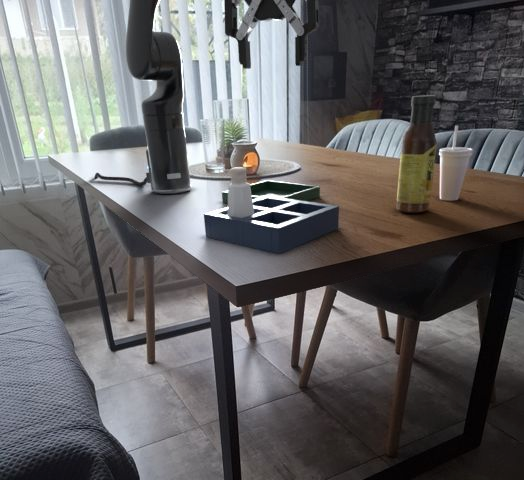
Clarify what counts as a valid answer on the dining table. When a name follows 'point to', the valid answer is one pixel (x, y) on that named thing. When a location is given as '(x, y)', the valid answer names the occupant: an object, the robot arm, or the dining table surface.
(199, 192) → the dining table surface
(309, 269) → the dining table surface
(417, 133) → the sauce bottle
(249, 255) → the dining table surface
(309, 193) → the tray
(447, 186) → the smoothie
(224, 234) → the rack
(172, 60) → the robot arm
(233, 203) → the pepper shaker
